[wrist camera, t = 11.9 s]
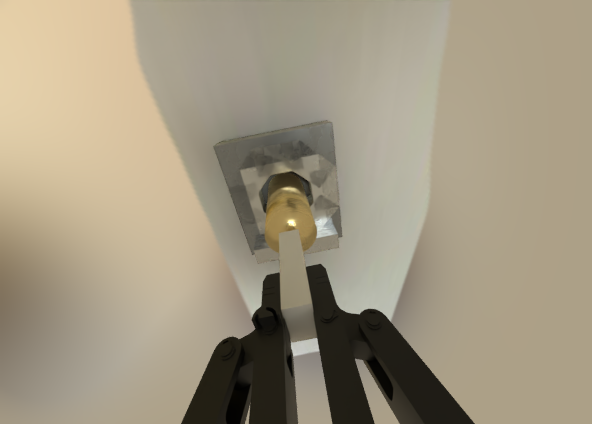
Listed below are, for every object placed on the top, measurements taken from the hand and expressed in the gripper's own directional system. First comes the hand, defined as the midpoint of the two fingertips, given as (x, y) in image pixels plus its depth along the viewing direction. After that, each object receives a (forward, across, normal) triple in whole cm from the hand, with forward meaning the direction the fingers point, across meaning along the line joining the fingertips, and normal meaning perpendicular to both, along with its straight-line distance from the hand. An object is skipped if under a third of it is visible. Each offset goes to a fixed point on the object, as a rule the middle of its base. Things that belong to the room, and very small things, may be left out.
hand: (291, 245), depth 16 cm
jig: (+12, 0, 0) cm, 12 cm away
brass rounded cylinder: (+12, 0, 0) cm, 12 cm away
